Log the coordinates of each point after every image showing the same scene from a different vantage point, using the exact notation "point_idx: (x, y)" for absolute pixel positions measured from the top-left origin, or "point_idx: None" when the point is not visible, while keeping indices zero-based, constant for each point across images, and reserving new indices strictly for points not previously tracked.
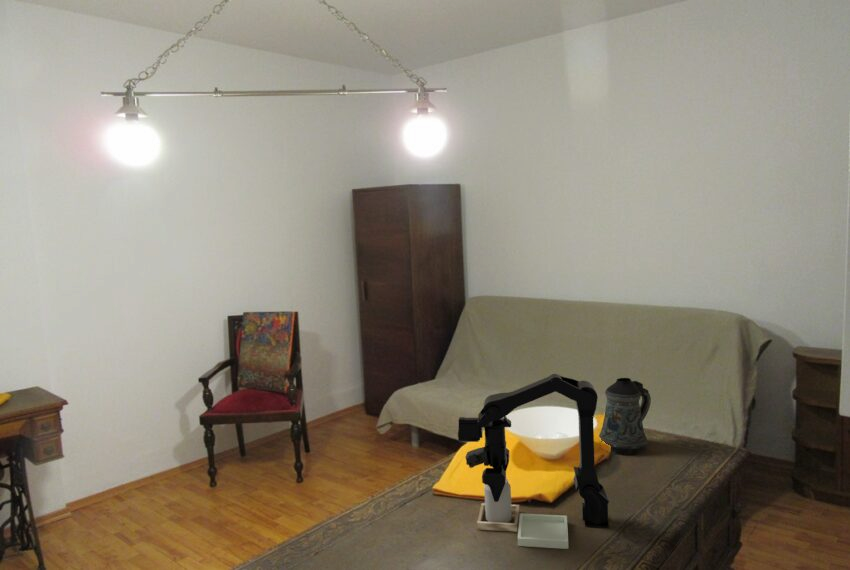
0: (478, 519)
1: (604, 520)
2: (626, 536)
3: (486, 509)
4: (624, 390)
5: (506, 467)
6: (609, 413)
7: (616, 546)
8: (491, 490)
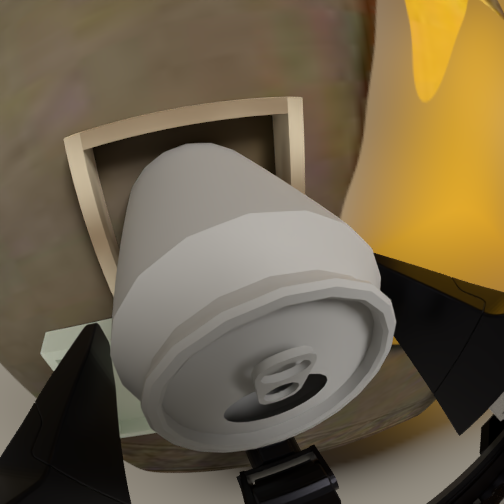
0: (101, 131)
1: None
2: (215, 454)
3: (150, 179)
4: None
5: (443, 406)
6: None
7: (174, 455)
8: (27, 423)
